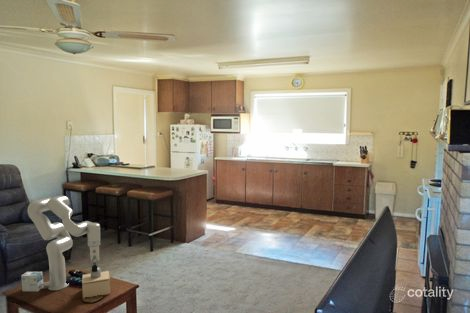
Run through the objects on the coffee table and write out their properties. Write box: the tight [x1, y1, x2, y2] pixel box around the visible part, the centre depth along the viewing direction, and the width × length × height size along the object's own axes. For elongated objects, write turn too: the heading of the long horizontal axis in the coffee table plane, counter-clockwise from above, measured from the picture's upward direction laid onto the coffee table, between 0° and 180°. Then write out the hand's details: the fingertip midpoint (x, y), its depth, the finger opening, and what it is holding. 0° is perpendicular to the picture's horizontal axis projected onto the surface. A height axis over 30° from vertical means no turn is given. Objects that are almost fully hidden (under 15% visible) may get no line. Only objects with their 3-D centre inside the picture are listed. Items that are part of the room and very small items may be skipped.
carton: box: [81, 278, 111, 299], centre depth 231 cm, size 16×14×9 cm
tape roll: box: [90, 266, 102, 278], centre depth 230 cm, size 6×6×5 cm
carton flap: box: [81, 270, 111, 285], centre depth 231 cm, size 16×14×1 cm
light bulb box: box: [20, 271, 45, 292], centre depth 236 cm, size 11×7×11 cm, turn 87°
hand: (94, 268), depth 230 cm, fingers open, 9 cm apart
